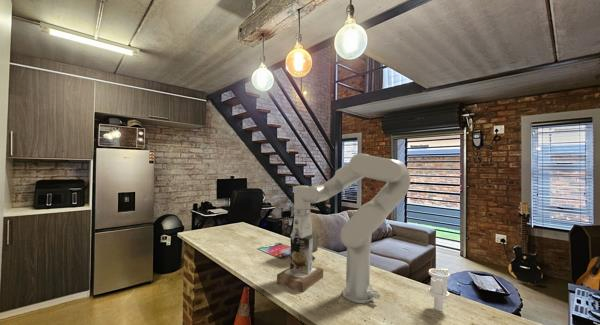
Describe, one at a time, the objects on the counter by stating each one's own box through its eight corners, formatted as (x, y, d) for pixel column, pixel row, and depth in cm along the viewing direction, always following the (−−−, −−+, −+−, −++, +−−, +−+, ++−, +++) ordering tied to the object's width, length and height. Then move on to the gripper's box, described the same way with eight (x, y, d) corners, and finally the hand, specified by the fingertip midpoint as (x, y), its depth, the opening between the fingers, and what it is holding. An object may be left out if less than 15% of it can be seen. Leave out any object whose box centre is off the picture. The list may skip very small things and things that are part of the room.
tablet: (279, 243, 176) (279, 242, 176) (305, 252, 159) (305, 251, 159) (256, 249, 163) (256, 248, 163) (281, 260, 145) (281, 259, 145)
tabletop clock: (318, 259, 147) (318, 215, 147) (308, 264, 140) (309, 218, 140) (298, 253, 156) (299, 212, 156) (288, 257, 149) (289, 214, 149)
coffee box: (289, 271, 118) (290, 236, 119) (294, 266, 124) (295, 233, 125) (308, 274, 115) (308, 238, 115) (312, 269, 121) (313, 235, 121)
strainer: (453, 313, 95) (454, 273, 95) (435, 314, 94) (436, 273, 95) (441, 303, 102) (442, 265, 102) (424, 303, 101) (425, 265, 102)
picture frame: (323, 277, 124) (323, 267, 124) (302, 292, 109) (302, 281, 109) (298, 270, 131) (299, 261, 131) (276, 283, 116) (277, 273, 116)
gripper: (298, 215, 111) (298, 255, 111) (318, 210, 125) (318, 245, 125) (284, 214, 115) (284, 252, 115) (305, 208, 129) (305, 242, 129)
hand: (302, 248), depth 120 cm, fingers open, 9 cm apart
